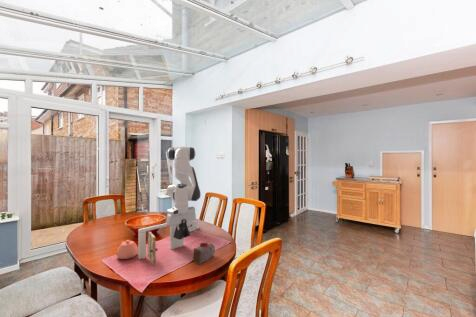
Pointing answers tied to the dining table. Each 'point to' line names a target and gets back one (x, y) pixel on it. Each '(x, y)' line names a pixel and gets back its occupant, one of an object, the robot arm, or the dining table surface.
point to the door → (151, 247)
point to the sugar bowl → (127, 250)
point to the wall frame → (142, 232)
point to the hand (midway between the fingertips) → (181, 229)
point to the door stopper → (181, 231)
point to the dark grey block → (203, 252)
